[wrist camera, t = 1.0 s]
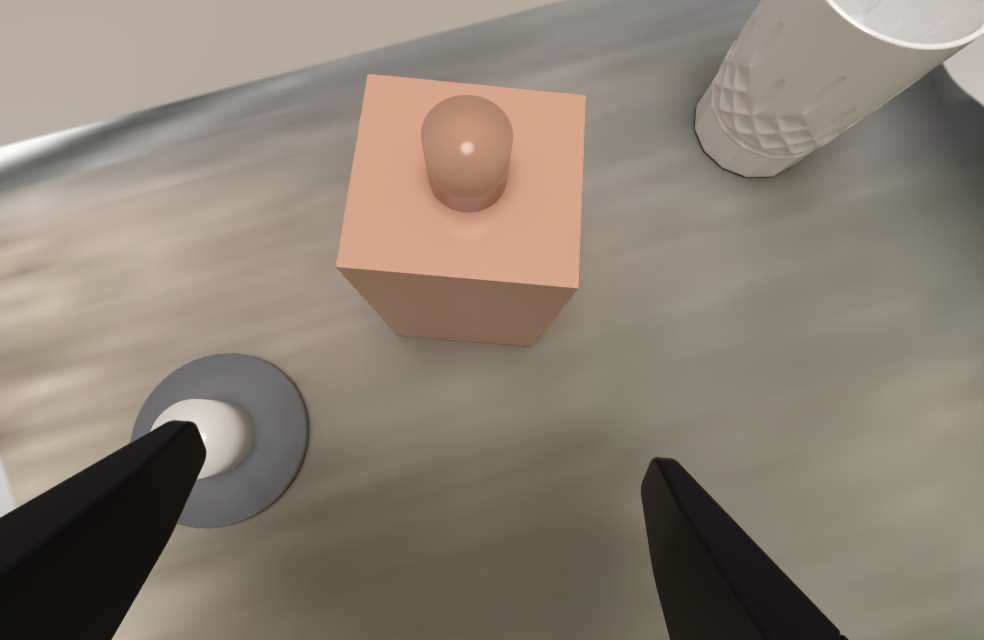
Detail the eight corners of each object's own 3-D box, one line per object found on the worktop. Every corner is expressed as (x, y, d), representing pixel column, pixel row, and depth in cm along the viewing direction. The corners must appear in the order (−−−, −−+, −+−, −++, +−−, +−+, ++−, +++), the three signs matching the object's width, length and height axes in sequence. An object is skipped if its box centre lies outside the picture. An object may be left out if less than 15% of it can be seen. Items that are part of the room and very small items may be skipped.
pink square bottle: (531, 346, 23) (597, 264, 11) (397, 335, 23) (310, 238, 11) (538, 231, 25) (603, 44, 12) (412, 220, 24) (351, 18, 12)
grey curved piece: (315, 508, 21) (310, 510, 20) (139, 539, 20) (129, 543, 20) (302, 343, 23) (298, 342, 22) (139, 368, 22) (130, 367, 21)
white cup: (811, 199, 26) (1017, 65, 16) (678, 175, 26) (803, 26, 16) (812, 85, 28) (998, -98, 18) (688, 62, 28) (806, -133, 18)
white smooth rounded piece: (256, 468, 21) (232, 473, 19) (181, 480, 20) (147, 488, 18) (253, 395, 21) (228, 392, 19) (180, 407, 21) (147, 405, 19)
